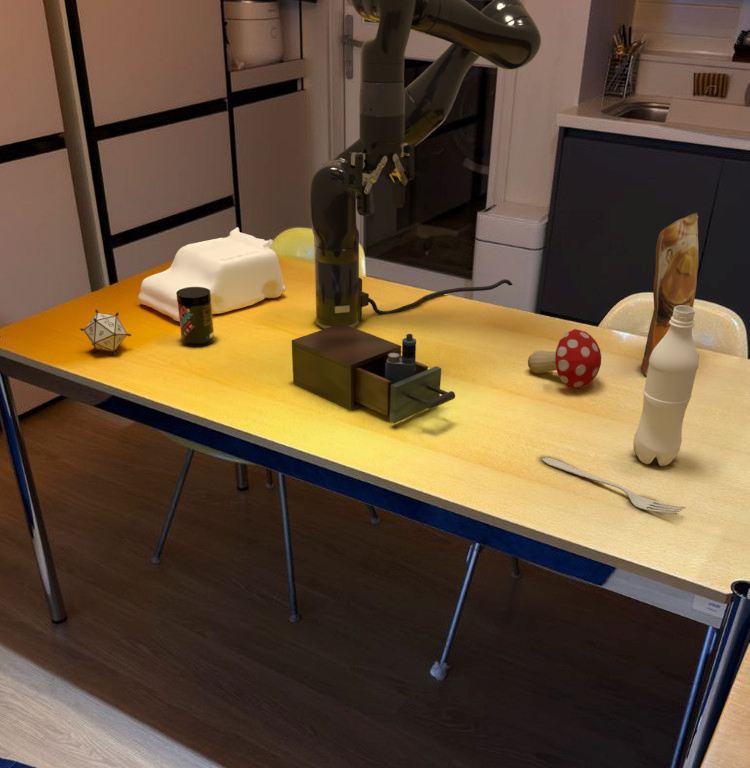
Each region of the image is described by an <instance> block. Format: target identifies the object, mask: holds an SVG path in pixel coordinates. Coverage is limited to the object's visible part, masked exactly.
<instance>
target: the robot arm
mask: <svg viewBox="0 0 750 768" xmlns="http://www.w3.org/2000/svg"><path fill="white" fill-rule="evenodd" d="M351 4H352V6H353V9H354V10H355V11H356V13H357V15H359V16H360V17H361V18H363V19H364V20H367V21H370V22H375V23H378V27H377V31H376V35H375V37H374V38H370V39H367V40H366V41H364V42H363V44H362V46H361V51H360V87H359V97H358V98H359V99H358V100H359V103H358V104H359V138H358V139H357V140H355V141H354V142H353V143H352V144H350V145H349V146H348V147H347V148H345V149H344V150H343V151H341V152H340V153H338V155H336V156H335V157H333V158H332V159H330V160H328V161H327V162H326V163H324V164H322V166H321V167H320V168H319V169H317V170H316V172H315V173H314V175H313V176H312V178H311V181H310V188H309V190H310V191H309V202H310V203H309V204H310V224H311V225H310V226H311V230H312V234H313V243H314V245H313V247H314V283H315V284H314V285H315V286H314V287H315V324H316V326H318V327H319V328H321V329H326V328H329V327H332V326H335V325H338V324H341V323H343V324H345V325H348V326H351V327H353V328H356V327H357V326H359V324H360V323H361V322H363V308H364V307H368V306H369V304H370V305H371V306H372V310H373V311H374V313H375V314H378V315H381V316H382V315H391V314H398V313H401V312H403V311H407V310H409V309H412V308H415V307H417V306H418V305H421V304H422V303H423V302H425V301H427V300H429V299H432V298H435V297H438V296H443V295H448V294H454V293H461V292H483V291H491V290H494V289H496V288H498V287H500V286H502V285H503V284H507V285H508V286H513V283H512V281H511V280H509V279H507V278H505V279H500V280H499V281H497V282H495V283H494V284H491V285H486V286H485V285H484V286H467V287H466V286H465V287H464V286H463V287H454V288H448V289H443V290H438V291H436V292H435V291H434V292H432V293H429V294H425V295H423V296H422V297H420V298H419V299H418V300H416V301H414V302H411V303H408V304H406V305H402V306H400V307H398V308H395V309H391V310H381V309H379V308H378V305H377V303H376V301H374V299H372V298H370V294H369V293H367V292H365V291H363V279H362V277H360V232H359V229H358V226H357V213H358V215H359V216H363V217H368V216H370V215H371V193H370V192H371V189H372V187H373V184H375V183H377V181H378V179H379V177H380V178H381V177H384V176H385V175H388V176H389V177H390V179H391V181H392V182H393V184H392V185H391V189H392V190H391V205H392V207H394V208H396V209H397V208H398V209H401V208H404V207H405V206H404V204H405V201H406V199H405V198H406V186H407V184H408V182H409V181H413V180H414V179H415V147H416V146H418V145H419V144H420V143H422V142H423V141H424V140H425V139H426V138H428V137H429V136H430V135H431V133H433V132H434V131H435V130H436V129H438V128H439V127H440V126H441V125H442V124H443V123H444V122H445V121H446V119H447V118H448V116H449V114H450V113H451V111H452V109H453V106H454V103H455V101H456V98H457V96H458V93H459V91H460V88H461V86H462V84H463V81H464V79H465V77H466V75H467V74H468V72H469V70H470V69H471V68H472V66H473V65H474V64H475V63H476V61H478V60H479V58H482V59H485V60H486V61H488V62H489V63H491V64H492V65H494V66H496V67H497V68H500V69H501V70H504V71H515V70H520V69H521V68H523V67H525V66H527V65H528V64H529V63H531V61H532V60H533V59H534V58H535V57H536V56H537V54H538V53H539V51H540V48H541V45H542V37H541V32H540V30H539V27H538V26H537V24H536V22H535V20H534V19H533V17H532V16H531V14H530V12H528V10H527V8H526V7H525V5H524V4H523V3H522V1H521V0H492V1H491V2H489V3H488V4H487V5H486V6H484V7H483V8H482V9H481V11H480V10H479V9H477V8H476V7H474V6H473V5H472V4H470V3H469V2H468V1H466V0H351ZM411 30H412V31H414V32H416V33H419V34H423V35H426V36H429V37H433V38H436V39H441V40H443V41H446V42H448V43H451V44H450V45H449V46H448V48H447V49H445V50H444V52H442V54H440V55H439V56H438V57H437V58H436V59H435V60H434V61H433V62H432V63H431V64H430V65H429V66H428V67H427V68H426V69H424V71H423V72H422V73H421V74H420V75H419V76H418V77H416V78H415V79H413V81H412V82H411V83H409V84H408V85H407V86H405V61H406V60H405V58H406V57H405V55H406V49H407V45H408V42H409V38H410V35H411Z"/></svg>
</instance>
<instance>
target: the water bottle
mask: <svg viewBox="0 0 750 768" xmlns="http://www.w3.org/2000/svg"><path fill="white" fill-rule="evenodd" d="M695 314H696V309H695V308H694V307H693V308H692V307H689V306H676V307H675V308H674V311H673V316H672V317H671V320H670V321H669V324H670V327H669V330H668V332H667V333H666V335H665V336H664V337H663V338H662V339H661V341H660V342H659V343H658V344H657V346H656V347H655V348H654V350H653V351H652V353H651V356H650V359H649V368H648V373H647V376H646V377H645V378H646V379H645V383H644V388H643V403H642V410H641V415H640V419H639V423H638V425H637V428H636V430H635V433H634V435H633V436H634V438H633V450H634V453H635V455H636V456H637V458H638V460H639V461H640V462H641V463H644V464H645V465H650V464H651V463H652V462H653V461H654V459H655V458H656V461H657V463H658V466H659V467H665V466H668V465H669V464H671V463H672V462H673V460H674V459H675V458H676V457H677V455H678V453H679V452H680V450H681V445H682V442H683V437H682V436H683V435H682V434H683V425H684V424H683V423H684V418H685V414H686V411H687V407H688V405H689V402H690V401H691V398H692V393H693V388H694V384H695V380H696V379H695V378H696V375H697V370H698V369H699V365H700V359H699V354H698V349H697V347H696V344H695V341H694V338H693V329H694V327H695V318H694V317H695Z"/></svg>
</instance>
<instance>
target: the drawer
mask: <svg viewBox="0 0 750 768" xmlns="http://www.w3.org/2000/svg"><path fill="white" fill-rule="evenodd" d="M400 358H402V354H401V355H400ZM387 359H388V355H386V356H384V357H381V358H378V359H376V360H373V361H371V362H368V363H365V364H363V365H360V366H358V367H355V368H354V401H355V402H358V403H360V404H362V406H364V407H366V408H368V409H371V410H373V411H375V412H378V413H380V414H382V415H384V416H386V417H388V416H389V422H391V423H393V424H397V423H399V422H401V421H404V420H406V419H408V418H411V417H413V416H415V415H418V414H420V413H421V412H423V411H426V410H433V409H435V408H437V407H439V406H441V405H443V404H446V403H449V402H450V401H452V400H455V398H456V394H455V392H454V391H452V390H450V391H446V390H444V389H441V380H442V367H439V366H433V367H431V368H429V365H427V364H424V363H421V362H419V361H416V365H415V368H416V370H415V373H414V374H413V376H411V377H409V378H407V379H404V380H402V381H399V382H397V383H394V384H392V385H391V381H390V380H387V379H385V364H386V362H387Z"/></svg>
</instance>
